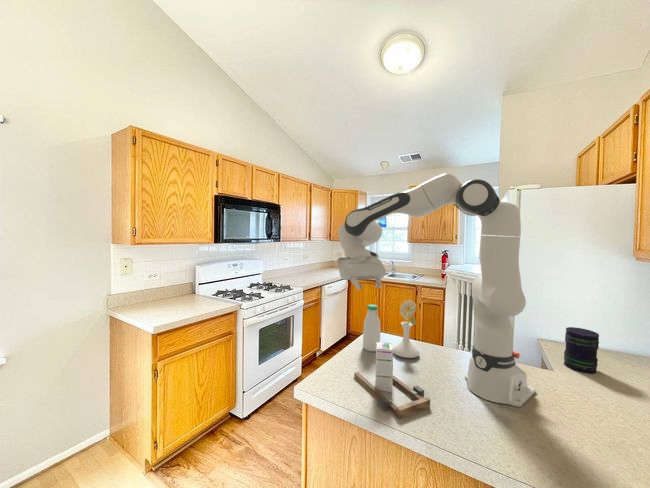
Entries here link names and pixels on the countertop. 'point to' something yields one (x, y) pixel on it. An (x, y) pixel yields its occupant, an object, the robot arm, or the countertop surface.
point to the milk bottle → (371, 329)
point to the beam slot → (387, 404)
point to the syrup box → (384, 366)
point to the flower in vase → (407, 332)
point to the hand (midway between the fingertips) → (369, 288)
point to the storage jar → (581, 350)
